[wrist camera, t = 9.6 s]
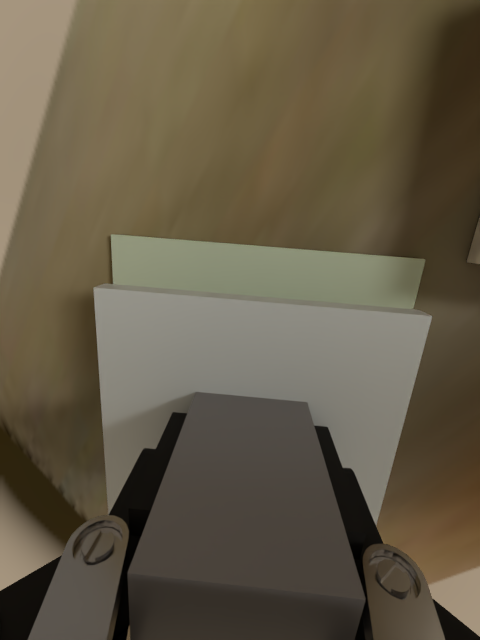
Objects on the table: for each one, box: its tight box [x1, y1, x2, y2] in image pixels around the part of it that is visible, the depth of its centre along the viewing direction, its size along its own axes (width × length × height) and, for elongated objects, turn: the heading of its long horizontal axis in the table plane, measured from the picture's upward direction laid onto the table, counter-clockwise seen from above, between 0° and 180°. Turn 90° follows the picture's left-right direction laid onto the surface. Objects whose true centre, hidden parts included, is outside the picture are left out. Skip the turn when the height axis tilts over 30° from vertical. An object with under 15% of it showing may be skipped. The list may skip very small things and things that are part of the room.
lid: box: [94, 283, 432, 640], centre depth 9 cm, size 11×11×7 cm
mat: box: [111, 234, 426, 309], centre depth 16 cm, size 14×14×1 cm
